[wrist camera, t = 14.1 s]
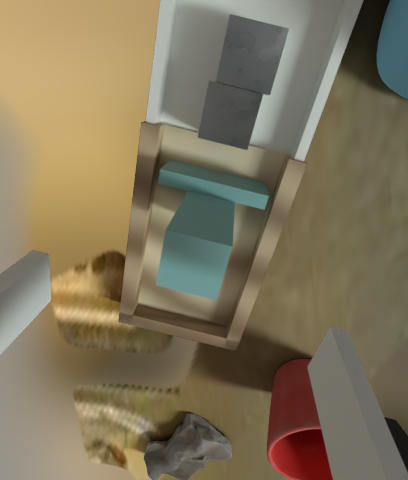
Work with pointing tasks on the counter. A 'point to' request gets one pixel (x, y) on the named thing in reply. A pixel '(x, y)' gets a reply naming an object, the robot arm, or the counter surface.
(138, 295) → the slot board
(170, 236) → the rake tool
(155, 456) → the stone
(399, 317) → the counter surface
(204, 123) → the block
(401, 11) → the teapot
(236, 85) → the block
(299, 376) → the flower pot
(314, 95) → the tray
